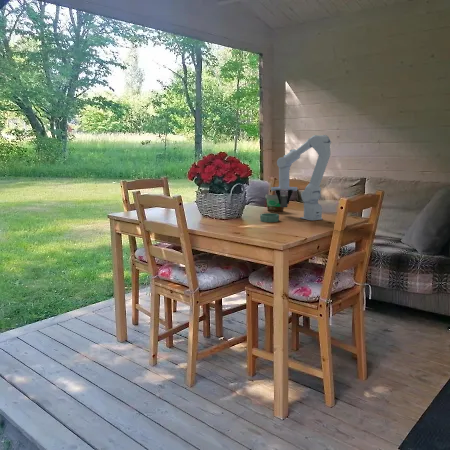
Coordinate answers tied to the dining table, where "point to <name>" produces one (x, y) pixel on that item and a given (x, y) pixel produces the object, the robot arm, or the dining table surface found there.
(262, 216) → the green short cylinder
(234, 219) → the dining table surface
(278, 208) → the food container
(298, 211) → the dining table surface
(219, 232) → the dining table surface
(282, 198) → the cell
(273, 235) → the dining table surface
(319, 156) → the robot arm
